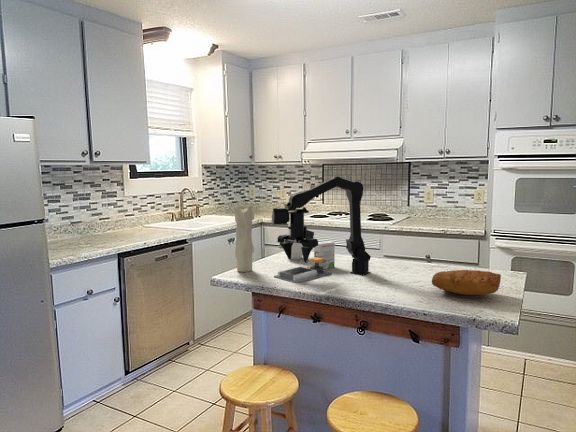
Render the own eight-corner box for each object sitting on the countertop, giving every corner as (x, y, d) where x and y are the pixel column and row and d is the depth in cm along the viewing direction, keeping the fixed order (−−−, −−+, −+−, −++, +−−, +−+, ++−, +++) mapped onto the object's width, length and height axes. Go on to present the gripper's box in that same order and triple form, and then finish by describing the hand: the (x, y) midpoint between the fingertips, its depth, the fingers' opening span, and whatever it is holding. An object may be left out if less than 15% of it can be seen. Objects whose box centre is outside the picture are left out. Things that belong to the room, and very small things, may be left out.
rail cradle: (332, 273, 180) (332, 267, 180) (297, 283, 166) (297, 276, 166) (308, 268, 190) (308, 263, 190) (274, 277, 176) (273, 271, 176)
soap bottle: (291, 255, 220) (290, 200, 217) (308, 257, 215) (308, 200, 212) (278, 260, 209) (277, 202, 206) (296, 262, 204) (295, 202, 201)
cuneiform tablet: (503, 292, 150) (504, 271, 149) (495, 305, 136) (496, 281, 136) (440, 283, 163) (441, 263, 162) (426, 294, 149) (427, 272, 148)
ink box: (328, 265, 196) (328, 240, 195) (335, 267, 192) (335, 242, 191) (313, 268, 192) (313, 242, 190) (320, 270, 188) (320, 244, 186)
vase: (258, 270, 189) (256, 203, 186) (245, 274, 182) (244, 205, 179) (243, 267, 194) (241, 203, 190) (230, 271, 187) (229, 204, 183)
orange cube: (323, 266, 184) (323, 258, 183) (317, 268, 181) (317, 260, 180) (316, 265, 187) (316, 257, 186) (309, 266, 184) (309, 258, 183)
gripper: (327, 223, 172) (327, 261, 174) (294, 220, 186) (295, 255, 187) (308, 226, 164) (308, 265, 166) (276, 222, 178) (276, 259, 180)
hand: (297, 261), depth 175 cm, fingers open, 9 cm apart
